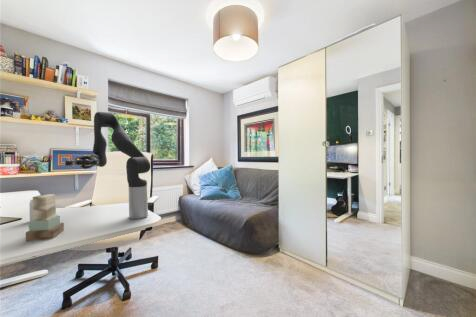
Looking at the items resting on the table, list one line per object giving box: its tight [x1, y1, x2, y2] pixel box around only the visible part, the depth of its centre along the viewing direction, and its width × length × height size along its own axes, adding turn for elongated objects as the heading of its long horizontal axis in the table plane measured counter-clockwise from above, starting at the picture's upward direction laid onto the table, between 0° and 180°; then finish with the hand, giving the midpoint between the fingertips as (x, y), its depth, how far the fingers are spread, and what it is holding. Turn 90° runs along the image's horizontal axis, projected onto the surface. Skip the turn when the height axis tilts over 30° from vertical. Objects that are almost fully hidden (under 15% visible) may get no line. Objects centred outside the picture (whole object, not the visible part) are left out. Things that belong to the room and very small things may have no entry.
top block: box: [28, 214, 61, 231], centre depth 88 cm, size 7×7×4 cm
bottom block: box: [25, 222, 65, 242], centre depth 88 cm, size 9×9×4 cm
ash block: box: [32, 193, 57, 221], centre depth 87 cm, size 5×5×10 cm
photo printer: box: [28, 198, 57, 221], centre depth 108 cm, size 10×4×12 cm, turn 123°
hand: (77, 163), depth 108 cm, fingers open, 8 cm apart
